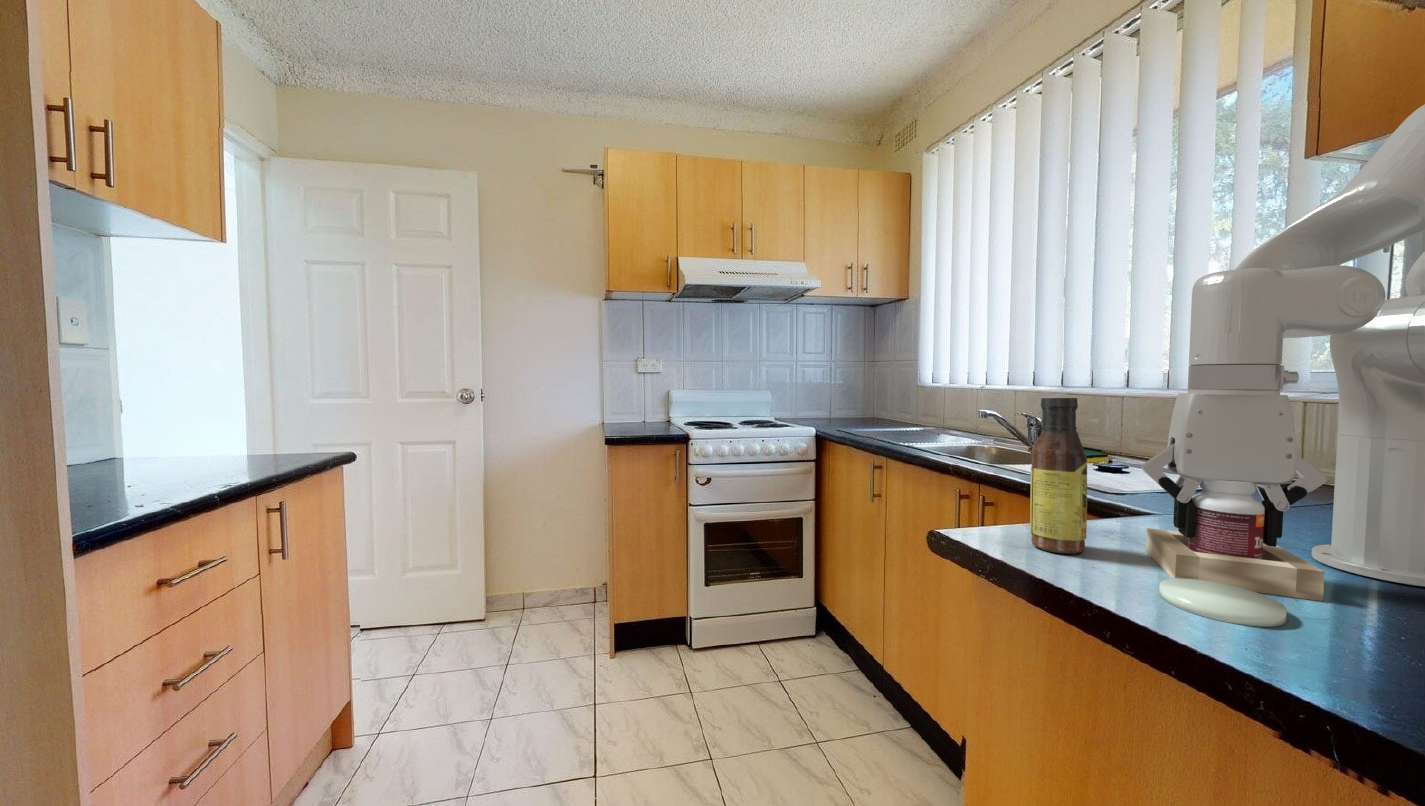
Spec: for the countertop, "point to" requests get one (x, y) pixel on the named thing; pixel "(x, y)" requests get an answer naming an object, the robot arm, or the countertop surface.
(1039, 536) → the sauce bottle
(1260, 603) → the saucer
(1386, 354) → the robot arm
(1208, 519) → the pill bottle
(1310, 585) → the wooden square frame
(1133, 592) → the countertop surface
